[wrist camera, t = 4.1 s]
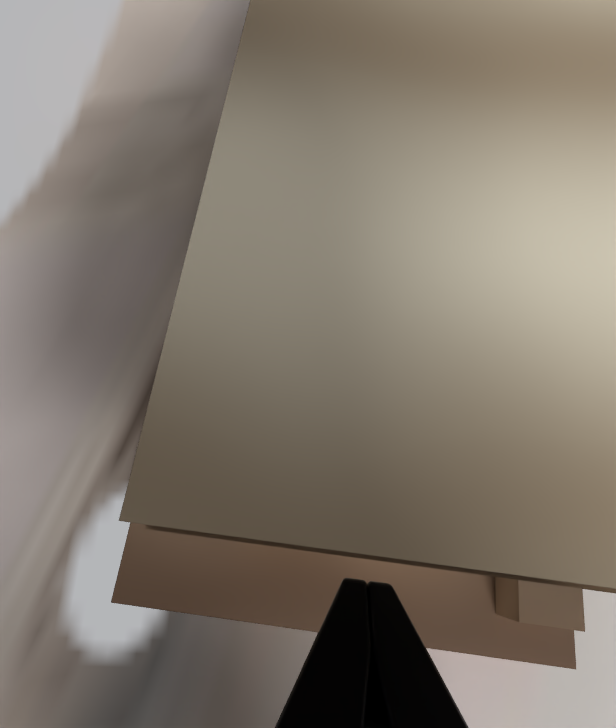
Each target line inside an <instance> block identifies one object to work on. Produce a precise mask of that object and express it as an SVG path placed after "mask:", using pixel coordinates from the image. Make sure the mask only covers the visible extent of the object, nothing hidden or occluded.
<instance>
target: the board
mask: <svg viewBox="0 0 616 728" xmlns="http://www.w3.org/2000/svg"><path fill="white" fill-rule="evenodd" d="M145 528H146V524H139V523H132V522H131V523H130V527H129V531H128V535H127V539H126V543H125V547H124V551H123V556H122V560H121V564H120V568H119V572H118V576H117V581H116V584H115V588H114V592H113V596H112V601H111V602H112V603H119V604H125V605H132V606H139V607H146V608H153V609H160V610H167V611H174V612H181V613H188V614H195V615H202V616H209V617H216V618H223V619H230V620H237V621H244V622H251V623H258V624H265V625H272V626H278V627H285V628H292V629H299V630H306V631H313V632H319V630H320V628H321V626H322V624H323V622H324V619H325V617H326V615H327V613H328V611H329V608H330V606H331V604H332V602H333V600H334V597H335V595H336V593H337V591H338V589H339V587H340V584H341V582H342V580H343V579H344V578H353V579H360V580H364V581H366V583H368V582H370V581H375V582H382V583H388V584H390V585H391V586H392V587H393V588H394V590H395V592H396V594H397V596H398V597H399V599H400V601H401V603H402V605H403V607H404V609H405V610H406V612H407V614H408V616H409V618H410V620H411V622H412V623H413V625H414V627H415V629H416V631H417V633H418V635H419V636H420V638H421V640H422V642H423V644H424V646H425V648H432V649H438V650H445V651H452V652H459V653H466V654H473V655H480V656H487V657H494V658H501V659H508V660H515V661H522V662H529V663H536V664H543V665H550V666H557V667H564V668H571V669H576V658H575V641H574V630H577V631H584V632H585V623H584V608H583V592H582V589H581V588H573V587H566V586H559V585H551V584H544V583H537V582H530V581H522V580H515V579H508V578H500V577H493V576H486V575H478V574H471V573H464V572H456V571H449V570H442V569H435V568H427V567H420V566H413V565H405V564H398V563H391V562H383V561H376V560H369V559H362V558H354V557H347V556H340V555H332V554H325V553H318V552H310V551H303V550H296V549H288V548H281V547H274V546H267V545H259V544H252V543H245V542H237V541H230V540H223V539H215V538H208V537H201V536H193V535H186V534H179V533H172V532H164V531H157V530H150V529H145Z"/></svg>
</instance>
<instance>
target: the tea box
mask: <svg viewBox="0 0 616 728" xmlns="http://www.w3.org/2000/svg"><path fill="white" fill-rule="evenodd" d="M119 521H125V522H132V523H139V524H146V528H145V529H150V530H157V531H164V532H172V533H179V534H186V535H193V536H201V537H208V538H215V539H223V540H230V541H237V542H245V543H252V544H259V545H267V546H274V547H281V548H288V549H296V550H303V551H310V552H318V553H325V554H332V555H340V556H347V557H354V558H362V559H369V560H376V561H383V562H391V563H398V564H405V565H413V566H420V567H427V568H435V569H442V570H449V571H456V572H464V573H471V574H478V575H486V576H493V577H500V578H508V579H515V580H522V581H530V582H537V583H544V584H551V585H559V586H566V587H573V588H581V589H588V590H595V591H603V592H610V593H616V0H250V4H249V8H248V12H247V16H246V20H245V24H244V28H243V32H242V36H241V40H240V44H239V48H238V51H237V55H236V59H235V63H234V67H233V71H232V75H231V79H230V83H229V87H228V91H227V95H226V99H225V103H224V107H223V111H222V115H221V119H220V123H219V127H218V131H217V135H216V138H215V142H214V146H213V150H212V154H211V158H210V162H209V166H208V170H207V174H206V178H205V182H204V186H203V190H202V194H201V198H200V202H199V206H198V210H197V214H196V218H195V222H194V226H193V229H192V233H191V237H190V241H189V245H188V249H187V253H186V257H185V261H184V265H183V269H182V273H181V277H180V281H179V285H178V289H177V293H176V297H175V301H174V305H173V309H172V313H171V316H170V320H169V324H168V328H167V332H166V336H165V340H164V344H163V348H162V352H161V356H160V360H159V364H158V368H157V372H156V376H155V380H154V384H153V388H152V392H151V396H150V400H149V404H148V407H147V411H146V415H145V419H144V423H143V427H142V431H141V435H140V439H139V443H138V447H137V451H136V455H135V459H134V463H133V467H132V471H131V475H130V479H129V483H128V487H127V491H126V494H125V498H124V502H123V506H122V510H121V514H120V518H119Z"/></svg>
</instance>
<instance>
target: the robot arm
mask: <svg viewBox="0 0 616 728" xmlns="http://www.w3.org/2000/svg"><path fill="white" fill-rule="evenodd" d="M275 728H468V726H467V724H466V722H465V720H464V718H463V717H462V715H461V713H460V711H459V709H458V707H457V705H456V703H455V702H454V700H453V698H452V696H451V694H450V692H449V690H448V689H447V687H446V685H445V683H444V681H443V679H442V677H441V676H440V674H439V672H438V670H437V668H436V666H435V664H434V663H433V661H432V659H431V657H430V655H429V653H428V651H427V650H426V648H425V646H424V644H423V642H422V640H421V638H420V636H419V635H418V633H417V631H416V629H415V627H414V625H413V623H412V622H411V620H410V618H409V616H408V614H407V612H406V610H405V609H404V607H403V605H402V603H401V601H400V599H399V597H398V596H397V594H396V592H395V590H394V588H393V587H392V586H391V585H390V584H388V583H382V582H375V581H370V582H368V583H366V581H364V580H360V579H353V578H344V579H343V580H342V582H341V584H340V587H339V589H338V591H337V593H336V595H335V597H334V600H333V602H332V604H331V606H330V608H329V611H328V613H327V615H326V617H325V619H324V622H323V624H322V626H321V628H320V630H319V632H318V635H317V637H316V639H315V641H314V643H313V646H312V648H311V650H310V652H309V654H308V656H307V659H306V661H305V663H304V665H303V667H302V670H301V672H300V674H299V676H298V678H297V680H296V683H295V685H294V687H293V689H292V691H291V694H290V696H289V698H288V700H287V702H286V704H285V707H284V709H283V711H282V713H281V715H280V718H279V720H278V722H277V724H276V726H275Z"/></svg>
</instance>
